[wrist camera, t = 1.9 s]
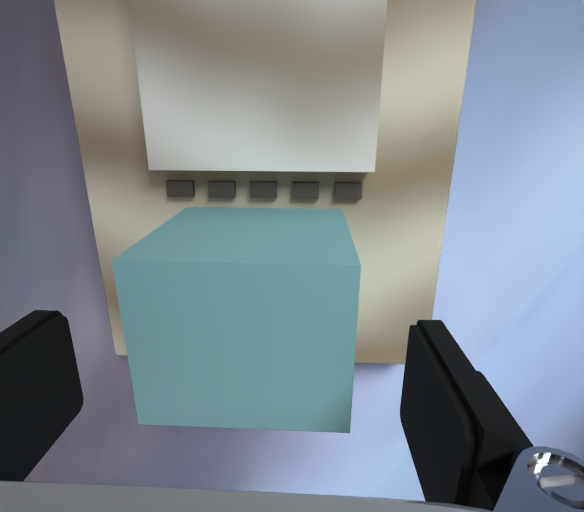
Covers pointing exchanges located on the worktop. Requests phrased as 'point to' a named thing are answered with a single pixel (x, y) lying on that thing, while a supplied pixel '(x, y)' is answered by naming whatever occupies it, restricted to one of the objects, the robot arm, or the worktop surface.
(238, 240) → the block
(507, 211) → the worktop surface
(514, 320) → the worktop surface
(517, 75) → the worktop surface
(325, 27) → the ticket board
